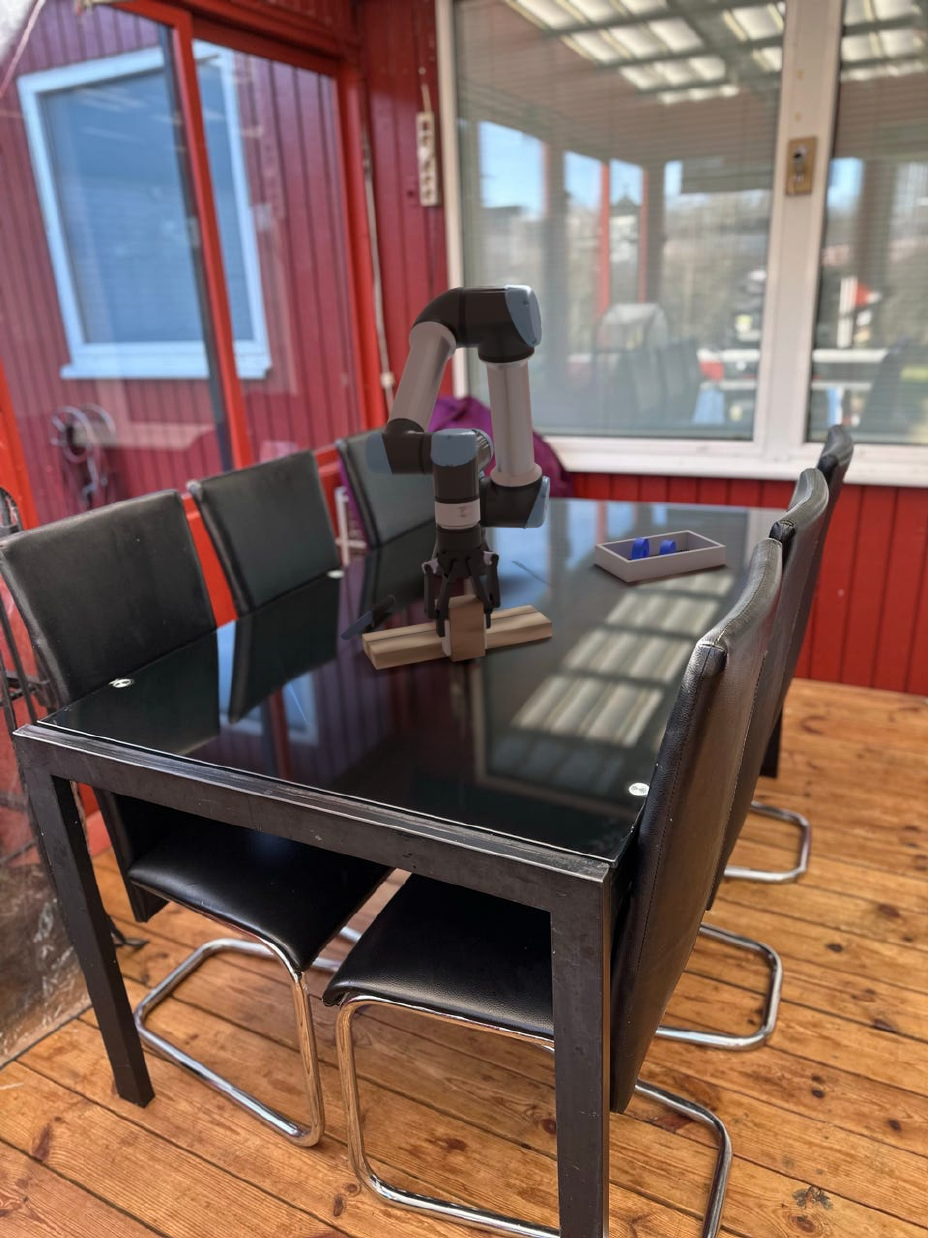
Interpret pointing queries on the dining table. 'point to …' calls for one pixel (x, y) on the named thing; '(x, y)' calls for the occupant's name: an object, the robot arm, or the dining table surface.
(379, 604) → the knife
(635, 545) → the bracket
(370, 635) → the board
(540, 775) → the dining table surface
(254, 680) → the dining table surface
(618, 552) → the grey rectangular tray
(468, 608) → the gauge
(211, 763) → the dining table surface
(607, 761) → the dining table surface
